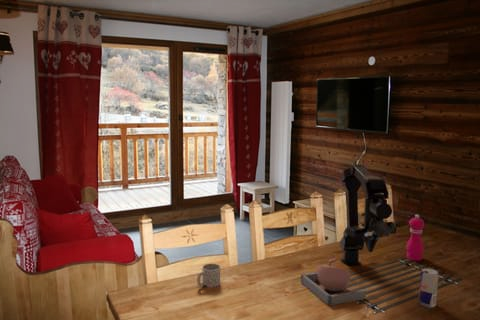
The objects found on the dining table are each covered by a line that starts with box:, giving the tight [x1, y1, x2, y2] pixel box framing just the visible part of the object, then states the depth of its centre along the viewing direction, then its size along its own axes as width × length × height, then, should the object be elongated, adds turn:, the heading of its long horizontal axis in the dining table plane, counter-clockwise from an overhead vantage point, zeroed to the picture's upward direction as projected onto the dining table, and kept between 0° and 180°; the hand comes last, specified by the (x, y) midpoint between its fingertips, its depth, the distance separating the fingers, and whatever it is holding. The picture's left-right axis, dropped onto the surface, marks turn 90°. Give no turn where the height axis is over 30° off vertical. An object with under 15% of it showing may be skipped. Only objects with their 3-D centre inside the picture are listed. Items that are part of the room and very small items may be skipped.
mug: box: [196, 263, 221, 288], centre depth 154 cm, size 10×7×7 cm
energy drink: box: [418, 267, 439, 309], centre depth 140 cm, size 5×5×12 cm
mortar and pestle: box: [316, 258, 352, 292], centre depth 150 cm, size 12×12×12 cm
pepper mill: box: [405, 214, 425, 262], centre depth 181 cm, size 7×7×20 cm
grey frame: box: [300, 271, 367, 306], centre depth 151 cm, size 19×15×3 cm
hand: (370, 251), depth 155 cm, fingers closed
